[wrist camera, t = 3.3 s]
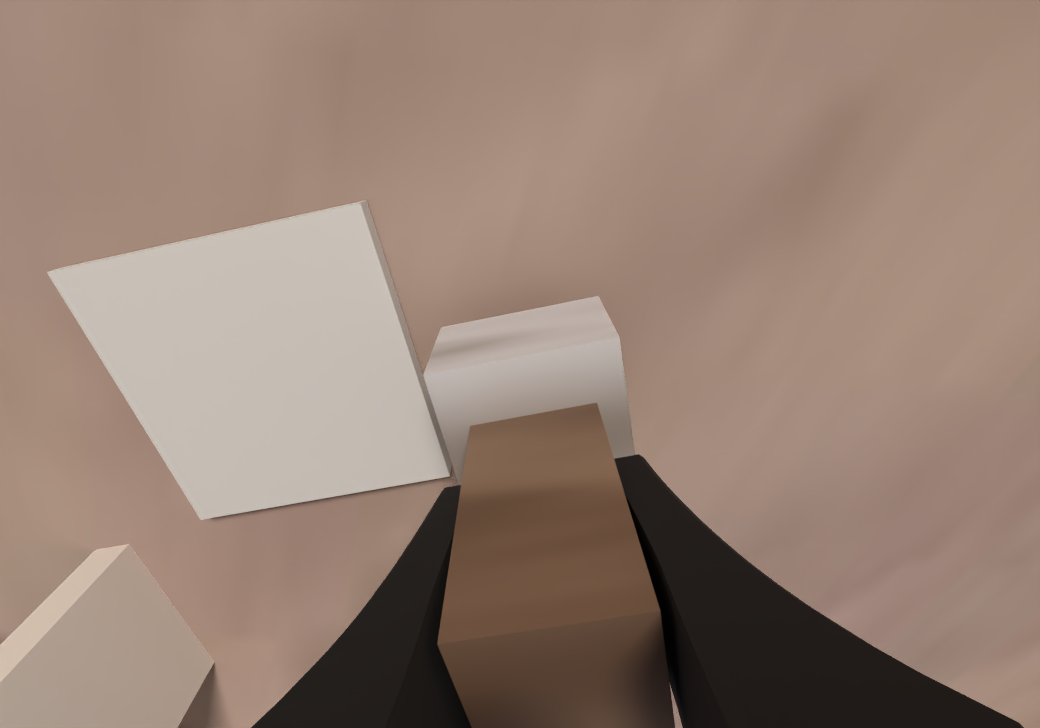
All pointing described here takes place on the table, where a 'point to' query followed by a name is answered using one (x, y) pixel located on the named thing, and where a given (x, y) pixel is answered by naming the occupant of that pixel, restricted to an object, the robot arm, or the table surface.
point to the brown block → (545, 527)
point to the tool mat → (265, 360)
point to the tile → (102, 653)
